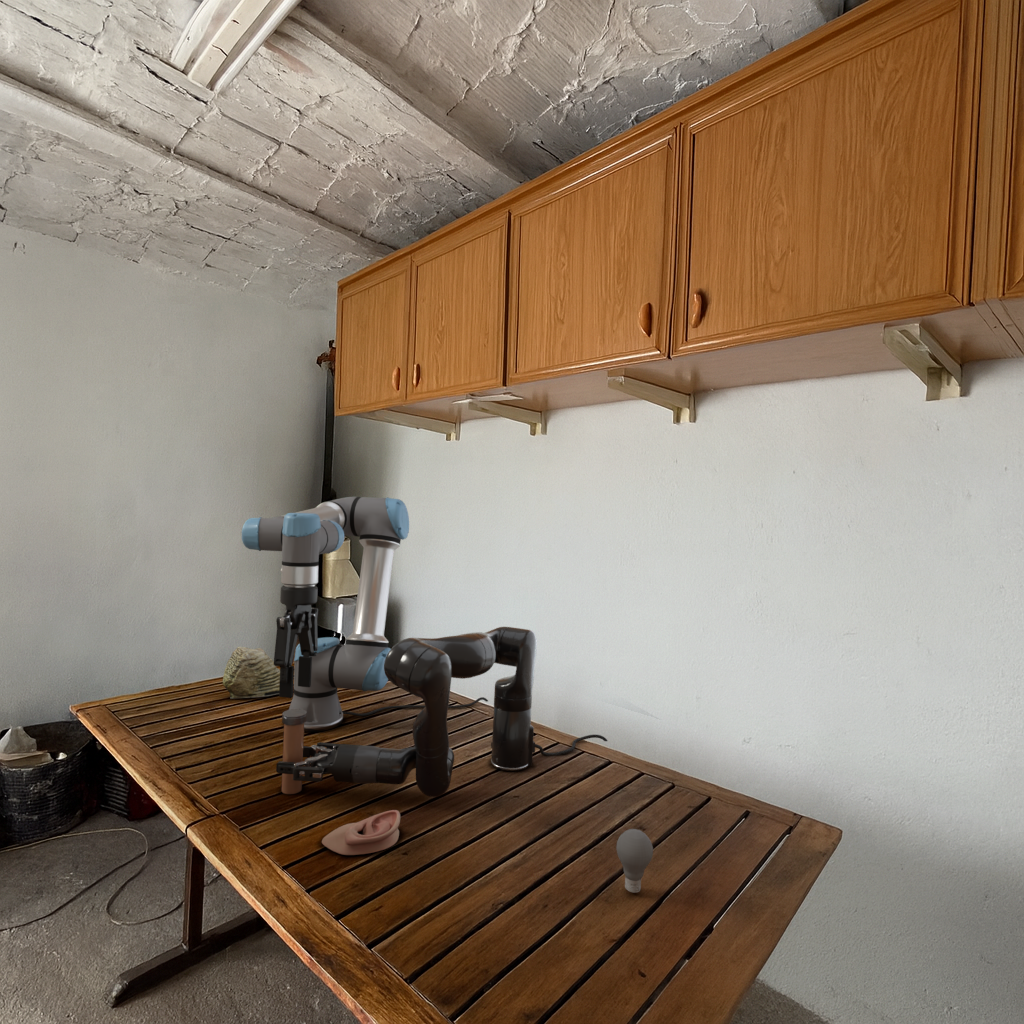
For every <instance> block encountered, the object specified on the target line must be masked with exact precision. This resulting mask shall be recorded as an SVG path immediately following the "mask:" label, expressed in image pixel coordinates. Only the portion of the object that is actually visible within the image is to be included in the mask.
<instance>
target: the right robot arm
mask: <svg viewBox="0 0 1024 1024" xmlns="http://www.w3.org/2000/svg"><path fill="white" fill-rule="evenodd" d="M537 648H538V641H537V636H536V633H535V632H534V631H533V630H531V629H528V628H520V627H513V626H499V627H496V628H494V629H493V628H492V629H491V630H488V631H485V632H480V631H479V632H467V633H461V634H458V635H457V634H455V635H449V636H443V637H442V636H441V637H434V638H433V637H432V638H431V637H429V638H428V637H407V638H403V639H402V640H399V642H397V643H396V644H394V645H393V646H392V648H390V649H391V650H390V651H389V653H388V654H387V656H386V659H385V662H384V671H385V675H386V677H387V678H388V679H389V680H388V682H390V683H391V684H393V685H394V686H395V687H398V688H400V689H401V690H403V691H405V692H408V693H409V694H411V695H413V696H415V697H417V698H421V700H423V703H424V705H425V706H426V707H425V708H422V709H421V710H420V711H419V713H418V714H417V715H416V717H415V719H414V720H413V724H412V739H413V746H410V747H405V748H388V747H379V746H374V745H363V744H348V743H332V742H321V741H320V742H317V743H316V744H312V745H311V746H309V745H308V746H307V745H303V758H305V759H304V760H303V762H297V763H295V762H283V760H279V761H278V762H277V763H276V766H275V767H276V768H275V772H276V773H277V774H282V773H283V774H293V780H295V781H302V782H318V783H319V782H322V781H323V777H324V775H332V777H333V780H334V781H335V782H338V783H351V784H364V785H365V784H366V785H367V784H368V785H369V784H382V785H383V784H385V785H402V784H404V783H405V782H406V780H407V779H408V777H409V775H410V773H411V772H412V771H413V770H414V769H415V783H416V786H417V788H418V790H419V791H420V792H421V793H422V794H423V795H425V796H427V797H431V798H437V797H441V796H443V795H444V794H445V793H446V792H447V791H448V789H449V787H450V785H451V781H452V774H453V770H454V763H455V752H454V751H453V749H451V747H450V737H449V728H448V712H449V708H448V706H450V705H449V704H450V696H451V686H452V679H463V680H464V679H471V678H474V677H478V676H481V675H484V674H486V673H487V672H488V671H490V670H491V668H492V667H493V666H494V664H496V665H503V666H508V667H514V668H515V674H513V675H510V676H504V677H501V678H499V679H497V680H496V681H495V682H494V691H493V692H494V694H493V713H492V714H493V715H492V717H493V719H492V740H491V742H490V745H491V746H490V749H491V758H490V764H491V765H492V767H494V768H496V769H498V770H501V771H505V772H506V771H507V772H518V771H522V770H526V769H527V768H528V767H533V755H534V754H536V749H538V750H539V752H540V755H542V756H545V757H549V756H552V757H553V756H562V755H566V754H569V753H571V752H573V751H574V750H575V748H576V744H577V743H578V742H581V741H585V740H587V739H594V738H596V739H599V740H603V741H604V742H608V741H609V740H608V738H606V737H605V736H603V735H601V734H588V735H583V736H581V737H577V738H575V739H574V740H573V741H572V744H571V747H570V748H568V749H564V750H561V751H556V752H545V751H544V749H543V747H542V745H540V744H538V743H536V742H535V741H534V733H535V731H534V729H535V728H534V726H533V725H532V705H533V704H532V703H533V688H534V682H535V671H536V661H537ZM301 766H303V767H301Z"/></svg>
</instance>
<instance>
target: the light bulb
mask: <svg viewBox="0 0 1024 1024" xmlns="http://www.w3.org/2000/svg"><path fill="white" fill-rule="evenodd" d="M615 849H616V854H617V857H618V859H619V861H620V863H621V865H622V867H623V873H624V874H623V875H624V876H625V878H624V888H625V890H627V891H628V892H630V893H634V894H635V893H639V892H640V891H641V889H642V887H641V886H642V879H643V877H644V875H645V871H646V868H647V867H648V866H649V864H650V863H651V861H652V859H653V855H654V847H653V843H652V841H651V838H649V836H648V835H647V834H646V833H645V832H643V831H642V830H641V829H636V828H629V829H627V830H625V831H623V832H622V833H621V834H620V835H619V837H618V839H617V841H616V847H615Z"/></svg>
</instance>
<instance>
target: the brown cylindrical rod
mask: <svg viewBox="0 0 1024 1024" xmlns="http://www.w3.org/2000/svg"><path fill="white" fill-rule="evenodd" d="M282 742H283V743H282V745H283V746H282V761H283V762H295V763H297V762H303V761H304V757H303V746H305V745H304V743H305V732H304V723H302V724H299V725H286V724H283V739H282ZM301 767H304V766H301ZM302 789H303V781H295V780H293V774H283V773H281V792H282V794H285V795H295V794H298V793H300V792H301V791H302Z"/></svg>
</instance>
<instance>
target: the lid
mask: <svg viewBox="0 0 1024 1024" xmlns="http://www.w3.org/2000/svg"><path fill="white" fill-rule="evenodd" d="M281 716H282V717H281V722H282V724H283V725H284V724H286V725H299V724H302V723H305V722H306V717H307V712H306V711H305V710H302V709H291V710H289V709H287V710H284V711H282V715H281Z"/></svg>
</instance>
